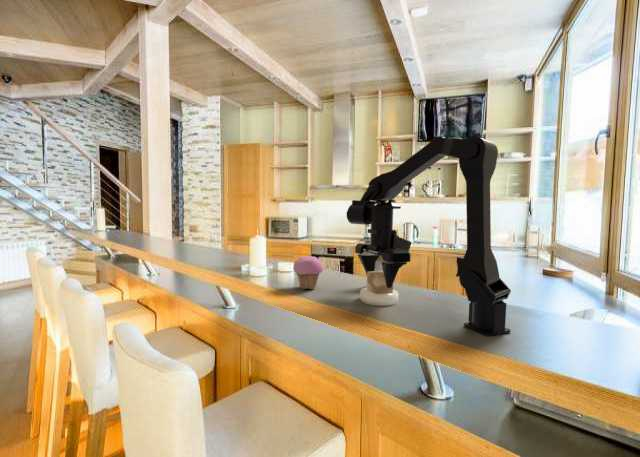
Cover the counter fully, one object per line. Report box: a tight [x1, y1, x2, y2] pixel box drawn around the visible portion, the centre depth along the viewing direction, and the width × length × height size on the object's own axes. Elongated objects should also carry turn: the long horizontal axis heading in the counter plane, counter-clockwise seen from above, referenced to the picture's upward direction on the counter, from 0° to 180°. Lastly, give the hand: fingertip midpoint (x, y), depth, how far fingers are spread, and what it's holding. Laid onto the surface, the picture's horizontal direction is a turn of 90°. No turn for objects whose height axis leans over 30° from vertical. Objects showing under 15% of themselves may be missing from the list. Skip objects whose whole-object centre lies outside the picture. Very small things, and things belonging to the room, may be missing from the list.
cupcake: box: [292, 255, 324, 290], centre depth 102 cm, size 9×9×10 cm
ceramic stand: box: [360, 286, 399, 307], centre depth 91 cm, size 10×10×2 cm
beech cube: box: [366, 271, 394, 294], centre depth 91 cm, size 5×5×5 cm
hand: (379, 283), depth 91 cm, fingers open, 9 cm apart
